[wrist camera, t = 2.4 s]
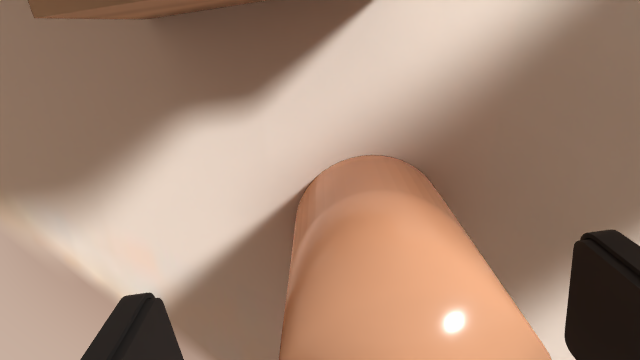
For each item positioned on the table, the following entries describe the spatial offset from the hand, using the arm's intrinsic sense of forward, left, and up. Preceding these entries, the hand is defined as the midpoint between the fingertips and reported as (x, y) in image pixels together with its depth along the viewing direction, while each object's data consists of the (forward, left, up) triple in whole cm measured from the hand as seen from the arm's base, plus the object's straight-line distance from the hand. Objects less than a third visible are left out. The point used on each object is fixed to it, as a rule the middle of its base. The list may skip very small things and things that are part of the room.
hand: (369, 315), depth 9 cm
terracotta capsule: (0, -1, -5) cm, 5 cm away
